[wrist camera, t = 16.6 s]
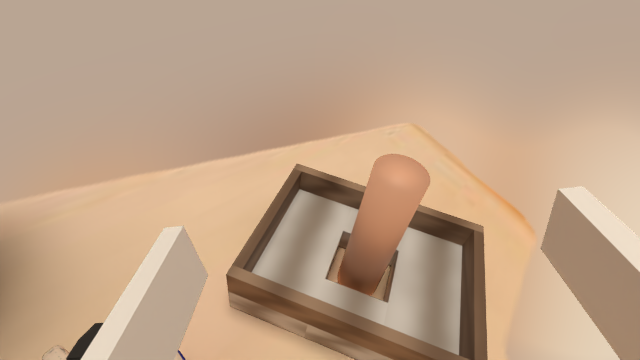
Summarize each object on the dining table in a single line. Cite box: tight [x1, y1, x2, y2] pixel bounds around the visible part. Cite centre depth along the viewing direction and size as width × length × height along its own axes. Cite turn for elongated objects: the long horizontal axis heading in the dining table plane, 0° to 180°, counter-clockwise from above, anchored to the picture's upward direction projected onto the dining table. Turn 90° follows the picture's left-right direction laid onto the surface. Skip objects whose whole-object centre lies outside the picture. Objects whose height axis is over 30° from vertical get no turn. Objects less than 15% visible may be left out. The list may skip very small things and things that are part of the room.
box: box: [226, 164, 487, 360], centre depth 34 cm, size 22×16×6 cm
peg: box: [338, 154, 430, 296], centre depth 31 cm, size 4×4×16 cm
